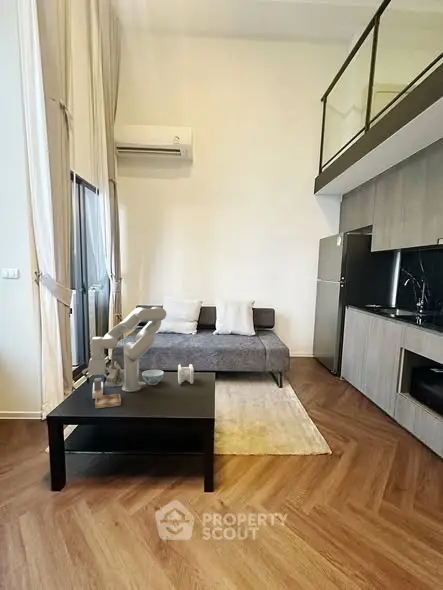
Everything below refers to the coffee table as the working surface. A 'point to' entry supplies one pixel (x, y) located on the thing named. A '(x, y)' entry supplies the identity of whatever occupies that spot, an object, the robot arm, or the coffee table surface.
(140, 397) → the coffee table surface
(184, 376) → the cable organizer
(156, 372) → the chinaware
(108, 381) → the ceramic cottage
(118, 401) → the tray
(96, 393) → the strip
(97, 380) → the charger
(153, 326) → the robot arm
